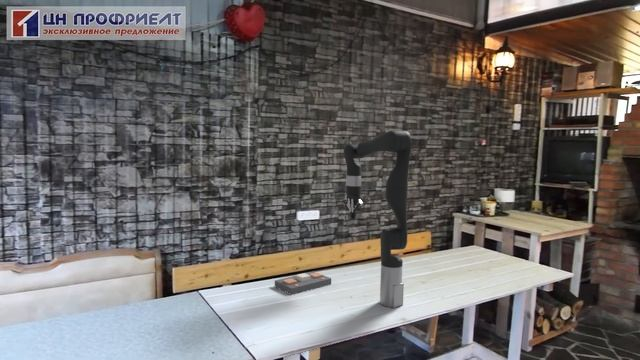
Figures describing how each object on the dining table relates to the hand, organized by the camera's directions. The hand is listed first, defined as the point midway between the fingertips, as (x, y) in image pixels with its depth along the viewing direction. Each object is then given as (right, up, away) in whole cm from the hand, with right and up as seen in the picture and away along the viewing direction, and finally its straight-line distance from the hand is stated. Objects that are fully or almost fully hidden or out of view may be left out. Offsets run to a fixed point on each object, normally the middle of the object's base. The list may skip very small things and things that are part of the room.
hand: (352, 219), depth 204 cm
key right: (-18, -31, +2) cm, 36 cm away
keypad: (-24, -32, -3) cm, 40 cm away
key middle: (-24, -30, -3) cm, 39 cm away
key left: (-31, -31, -8) cm, 45 cm away
